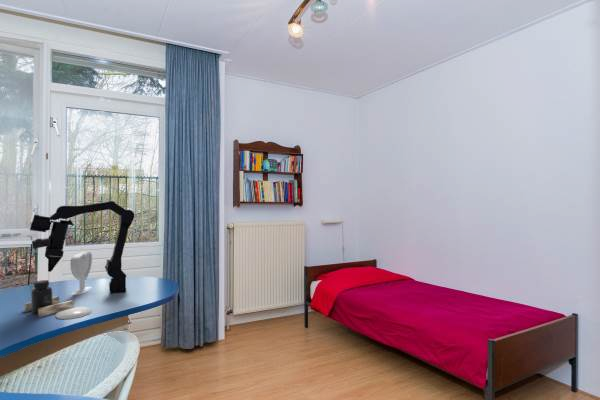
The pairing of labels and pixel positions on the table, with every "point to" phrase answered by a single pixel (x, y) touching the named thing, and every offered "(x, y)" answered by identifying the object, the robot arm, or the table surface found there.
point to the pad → (74, 312)
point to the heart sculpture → (81, 269)
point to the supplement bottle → (41, 295)
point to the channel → (51, 307)
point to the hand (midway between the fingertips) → (49, 269)
